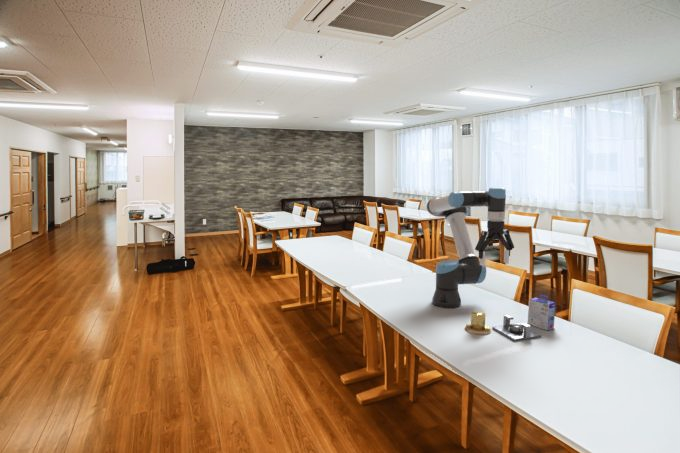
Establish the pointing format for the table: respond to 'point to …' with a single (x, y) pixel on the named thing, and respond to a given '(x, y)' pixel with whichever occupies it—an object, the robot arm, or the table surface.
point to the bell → (478, 322)
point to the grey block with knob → (516, 330)
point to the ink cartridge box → (541, 313)
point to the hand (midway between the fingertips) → (494, 264)
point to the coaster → (477, 331)
